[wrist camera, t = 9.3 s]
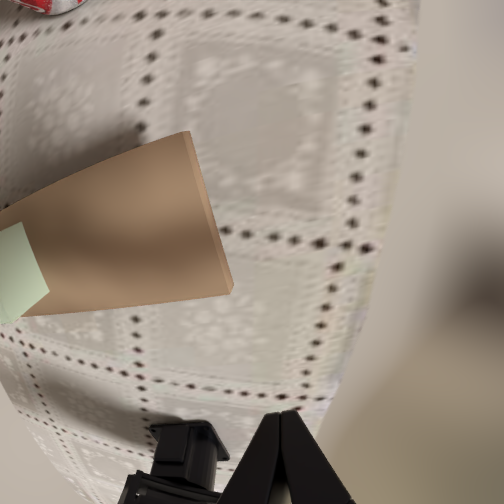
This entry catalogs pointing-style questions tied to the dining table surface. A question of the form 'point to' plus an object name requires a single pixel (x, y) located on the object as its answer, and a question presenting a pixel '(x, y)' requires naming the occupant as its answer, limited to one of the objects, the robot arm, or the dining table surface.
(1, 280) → the block
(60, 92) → the dining table surface
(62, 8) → the soda can
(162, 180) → the beam
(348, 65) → the dining table surface
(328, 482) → the robot arm
